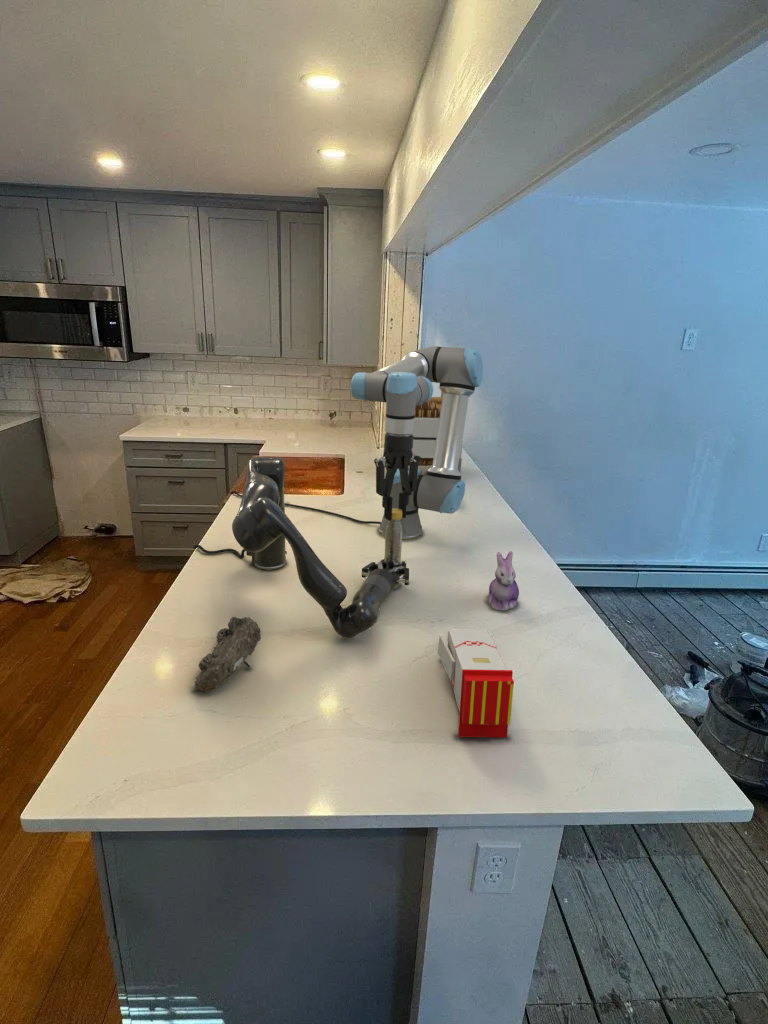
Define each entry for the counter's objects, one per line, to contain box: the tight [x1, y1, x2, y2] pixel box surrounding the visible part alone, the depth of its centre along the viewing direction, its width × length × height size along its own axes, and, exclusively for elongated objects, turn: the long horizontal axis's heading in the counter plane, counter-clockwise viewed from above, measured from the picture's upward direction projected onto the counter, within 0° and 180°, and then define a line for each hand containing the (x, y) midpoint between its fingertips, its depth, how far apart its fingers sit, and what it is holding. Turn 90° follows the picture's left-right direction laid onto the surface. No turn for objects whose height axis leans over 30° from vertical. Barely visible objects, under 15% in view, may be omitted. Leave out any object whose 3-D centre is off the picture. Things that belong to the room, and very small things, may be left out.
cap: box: [392, 508, 402, 520], centre depth 155 cm, size 4×4×2 cm
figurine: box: [487, 550, 520, 612], centre depth 153 cm, size 9×10×15 cm
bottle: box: [383, 519, 403, 590], centre depth 159 cm, size 5×5×22 cm
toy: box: [437, 628, 515, 738], centre depth 117 cm, size 12×13×30 cm
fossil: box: [194, 616, 262, 693], centre depth 122 cm, size 22×10×15 cm
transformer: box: [383, 391, 464, 475], centre depth 268 cm, size 34×33×41 cm
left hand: (394, 562), depth 163 cm, fingers closed on bottle, 4 cm apart
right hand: (394, 517), depth 156 cm, fingers closed on cap, 4 cm apart
